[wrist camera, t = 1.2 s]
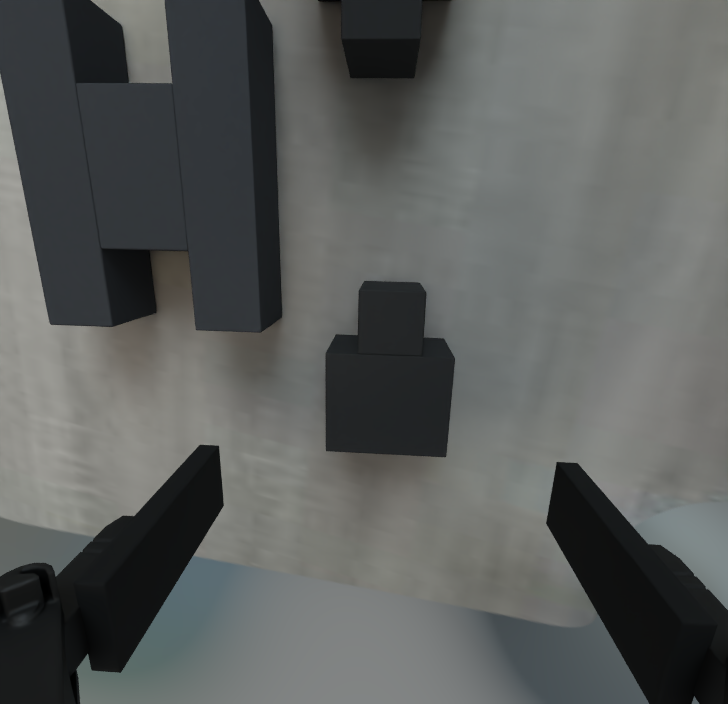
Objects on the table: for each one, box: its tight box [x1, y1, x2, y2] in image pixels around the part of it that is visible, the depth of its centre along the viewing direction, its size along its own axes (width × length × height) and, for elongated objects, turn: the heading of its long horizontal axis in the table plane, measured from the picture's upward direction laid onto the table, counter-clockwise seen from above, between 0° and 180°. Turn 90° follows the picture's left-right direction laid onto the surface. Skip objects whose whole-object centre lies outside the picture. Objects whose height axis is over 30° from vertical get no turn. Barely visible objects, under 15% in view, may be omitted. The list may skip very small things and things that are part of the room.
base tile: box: [0, 0, 282, 333], centre depth 22 cm, size 12×16×4 cm
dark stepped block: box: [326, 281, 455, 457], centre depth 24 cm, size 7×10×4 cm
